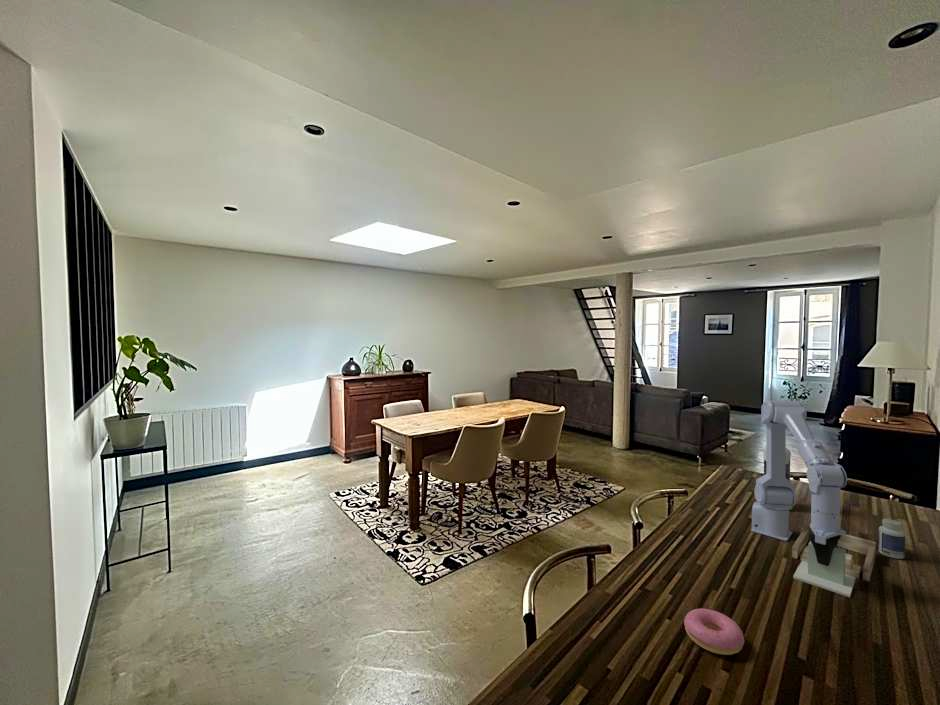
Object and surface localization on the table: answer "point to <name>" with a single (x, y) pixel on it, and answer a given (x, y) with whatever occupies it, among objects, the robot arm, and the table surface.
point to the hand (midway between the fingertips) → (824, 561)
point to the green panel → (831, 572)
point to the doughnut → (714, 631)
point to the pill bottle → (891, 539)
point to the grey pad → (824, 581)
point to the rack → (847, 543)
